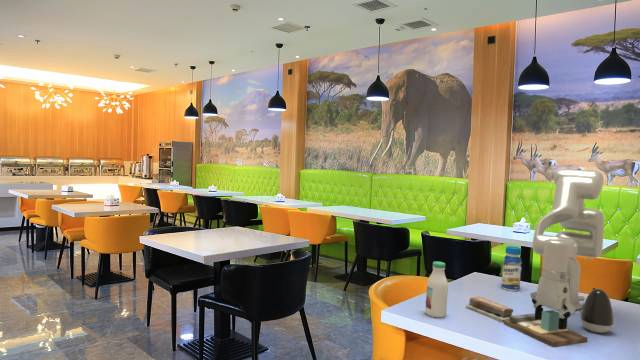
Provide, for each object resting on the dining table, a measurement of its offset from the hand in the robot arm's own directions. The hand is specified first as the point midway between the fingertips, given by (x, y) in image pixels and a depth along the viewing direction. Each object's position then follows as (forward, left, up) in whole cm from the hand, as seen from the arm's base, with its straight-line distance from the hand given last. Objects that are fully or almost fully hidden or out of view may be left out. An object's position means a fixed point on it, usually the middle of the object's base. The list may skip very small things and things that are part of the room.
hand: (550, 324), depth 159 cm
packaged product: (+3, -24, -5) cm, 24 cm away
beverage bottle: (-33, -50, -4) cm, 60 cm away
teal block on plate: (0, -1, -2) cm, 3 cm away
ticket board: (0, -2, -4) cm, 5 cm away
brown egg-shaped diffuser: (-22, +1, -4) cm, 22 cm away
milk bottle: (+27, -28, -4) cm, 39 cm away
